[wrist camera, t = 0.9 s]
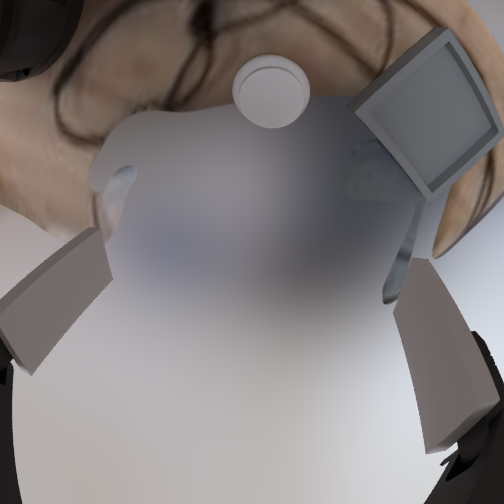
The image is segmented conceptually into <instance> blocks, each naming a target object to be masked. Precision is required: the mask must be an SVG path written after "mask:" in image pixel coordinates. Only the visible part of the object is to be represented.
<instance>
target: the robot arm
mask: <svg viewBox="0 0 504 504" xmlns="http://www.w3.org/2000/svg"><path fill="white" fill-rule="evenodd" d="M82 5H83V0H0V82H18V81H22V80H25V79H27V78H30V77H33V76H35V75H38V74H40V73H41V72H43V71H44V70H46V69H47V68H48V67H50V66H51V65H52V64H53V63H54V62H55V61H56V60H57V59H58V57H59V56H60V55H61V54H62V52H63V51H64V50H65V48H66V46H67V45H68V43H69V41H70V40H71V38H72V36H73V34H74V32H75V29H76V27H77V24H78V21H79V18H80V14H81V10H82ZM112 280H113V278H112V274H111V271H110V267H109V263H108V259H107V255H106V251H105V246H104V242H103V237H102V233H101V228H90V227H89V228H87V229H86V230H84V231H83V232H82V233H80V234H79V235H78V236H76V237H75V238H73V239H72V240H71V241H69V242H68V243H67V244H65V245H64V246H63V247H62V248H60V249H59V250H58V251H57V252H55V253H54V254H53V255H52V256H50V257H49V258H48V259H47V260H45V261H44V262H43V263H41V264H40V265H39V266H38V267H37V268H35V269H34V270H33V271H32V272H31V273H29V274H28V275H27V276H26V277H25V278H24V279H22V280H21V281H20V282H19V283H18V284H17V285H16V286H14V287H13V288H12V289H11V290H10V291H9V292H8V293H7V294H6V295H5V296H4V297H3V298H1V299H0V504H22V500H21V496H20V490H19V485H18V479H17V472H16V466H15V457H14V447H13V432H12V389H13V386H12V385H13V372H14V369H13V366H12V364H11V362H10V361H11V360H12V359H14V360H15V362H16V363H17V364H18V366H19V367H20V369H22V370H23V371H25V372H26V373H28V374H29V375H31V376H32V375H33V373H34V372H35V371H36V369H37V368H38V366H39V365H40V364H41V363H42V361H43V360H44V359H45V358H46V356H47V355H48V354H49V353H50V351H51V350H52V349H53V347H54V346H55V345H56V344H57V342H58V341H59V340H60V339H61V338H62V336H63V335H64V334H65V333H66V332H67V330H68V329H69V328H70V327H71V326H72V324H73V323H74V322H75V321H76V320H77V318H78V317H79V316H80V315H81V314H82V313H83V312H84V310H85V309H86V308H87V307H88V306H89V305H90V304H91V303H92V302H93V300H94V299H95V298H96V297H97V296H98V295H99V294H100V292H102V290H103V289H104V288H105V287H106V286H107V285H108V284H109V283H110V282H111V281H112ZM393 314H394V317H395V320H396V324H397V327H398V330H399V334H400V337H401V340H402V344H403V347H404V351H405V355H406V358H407V362H408V366H409V370H410V374H411V378H412V382H413V386H414V391H415V395H416V400H417V405H418V410H419V415H420V420H421V426H422V432H423V438H424V444H425V452H426V454H430V453H436V452H441V451H445V450H447V449H448V448H450V447H451V446H452V445H453V444H454V443H456V442H457V444H458V449H457V450H456V451H455V452H454V453H453V454H451V455H450V456H448V457H447V458H446V459H444V460H443V462H442V463H441V464H440V465H441V466H443V465H444V464H446V463H447V462H449V463H448V465H447V467H446V469H445V471H444V472H443V474H442V476H441V477H440V479H439V481H438V482H437V484H436V486H435V487H434V489H433V490H432V492H431V494H430V495H429V497H428V498H427V500H426V501H425V503H424V504H504V382H503V380H502V378H501V375H500V373H499V371H498V368H497V366H496V365H495V362H494V359H493V357H492V356H490V354H491V353H490V351H489V349H488V347H487V345H486V343H485V341H484V340H483V339H482V338H481V337H480V336H479V335H478V334H477V332H476V331H470V329H469V327H468V325H467V323H466V322H465V320H464V318H463V316H462V314H461V313H460V310H459V309H458V307H457V305H456V303H455V302H454V300H453V298H452V297H451V295H450V293H449V291H448V290H447V288H446V286H445V285H444V283H443V281H442V280H441V278H440V277H439V275H438V273H437V272H436V270H435V269H434V267H433V266H432V265H431V263H430V261H429V260H428V259H422V258H413V257H412V259H411V262H410V266H409V269H408V272H407V275H406V278H405V281H404V284H403V287H402V290H401V293H400V295H399V298H398V301H397V304H396V306H395V309H394V312H393Z"/></svg>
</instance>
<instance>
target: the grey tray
mask: <svg viewBox="0 0 504 504" xmlns="http://www.w3.org/2000/svg"><path fill="white" fill-rule="evenodd" d="M347 107H348V108H349V109H350V110H351V111H352V112H353V113H354V114H355V115H356V116H357V117H358V118H359V119H360V120H361V121H362V122H363V123H364V124H365V125H366V127H367V128H368V129H369V130H370V131H371V132H372V133H373V134H374V135H375V136H376V138H377V139H378V140H379V141H380V142H381V143H382V144H383V146H384V147H385V148H386V149H387V150H388V151H389V153H390V154H391V155H392V156H393V157H394V159H395V160H396V161H397V162H398V163H399V165H400V166H401V167H402V168H403V170H404V171H405V172H406V174H407V175H408V176H409V177H410V179H411V180H412V181H413V183H414V184H415V185H416V187H417V188H418V190H419V191H420V192H421V194H422V195H423V196H424V198H425V199H426V200H427V202H428V203H429V204H430V203H431V202H432V201H433V200H435V199H436V198H437V197H438V196H440V195H441V194H442V193H443V192H444V191H445V190H447V189H448V188H449V187H450V186H451V185H452V184H453V183H455V182H456V181H457V180H458V179H459V178H460V177H461V176H462V175H464V174H465V173H466V172H467V171H468V170H469V169H470V168H471V167H472V166H473V165H475V164H476V163H477V162H478V161H479V160H480V159H481V158H482V157H483V156H484V155H485V154H486V153H487V152H488V151H489V150H491V149H492V148H493V147H494V146H495V145H496V144H497V143H498V142H499V141H500V140H501V139H502V138H503V137H504V127H503V125H502V122H501V120H500V117H499V115H498V113H497V110H496V108H495V106H494V104H493V102H492V100H491V98H490V95H489V93H488V91H487V89H486V88H485V86H484V84H483V82H482V80H481V78H480V76H479V74H478V73H477V71H476V69H475V67H474V66H473V64H472V62H471V61H470V59H469V57H468V56H467V54H466V53H465V51H464V49H463V48H462V46H461V45H460V43H459V42H458V40H457V39H456V37H455V36H454V35H453V33H452V32H451V30H450V29H449V28H445V27H435V28H433V29H432V30H431V31H430V32H429V33H427V34H426V35H425V36H424V37H423V38H422V39H420V40H419V41H418V42H417V43H416V44H415V45H413V46H412V47H411V48H410V49H409V50H408V51H407V52H405V53H404V54H403V55H402V56H401V57H400V58H399V59H398V60H396V61H395V62H394V63H393V64H392V65H391V66H390V67H389V68H387V69H386V70H385V71H384V72H383V73H382V74H381V75H380V76H379V77H378V78H376V79H375V80H374V81H373V82H372V83H371V84H370V85H369V86H368V87H367V88H366V89H365V90H363V91H362V92H361V93H360V94H359V95H358V96H357V97H356V98H355V99H354V100H353V101H352V102H351V103H350V104H349V105H347Z"/></svg>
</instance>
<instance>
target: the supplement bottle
mask: <svg viewBox="0 0 504 504" xmlns="http://www.w3.org/2000/svg"><path fill="white" fill-rule="evenodd" d="M232 94H233V99H234V102H235V104H236V106H237V108H238V110H239V111H240V112H241V113H242V114H243V115H244V116H245V117H246V118H247V119H249V120H250V121H251V122H253V123H254V124H256V125H258V126H260V127H263V128H270V129H272V128H273V129H275V128H281V127H284V126H287V125H289V124H291V123H292V122H293V121H295V120H296V119H297V118H298V116H300V115H301V114H302V112H303V111H304V110H305V108H306V106H307V104H308V102H309V98H310V85H309V81H308V78H307V76H306V75H305V73H304V72H303V70H302V69H301V68H300V67H299V66H298V65H297V64H296V63H294V62H293V61H291V60H289V59H287V58H286V57H284V56H281V55H278V54H273V53H265V54H260V55H257V56H255V57H253V58H251V59H250V60H249V61H247V62H246V63H245V64H244V65H243V66H242V67H241V68H240V69H239V71H238V72H237V74H236V76H235V79H234V82H233V87H232Z"/></svg>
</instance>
